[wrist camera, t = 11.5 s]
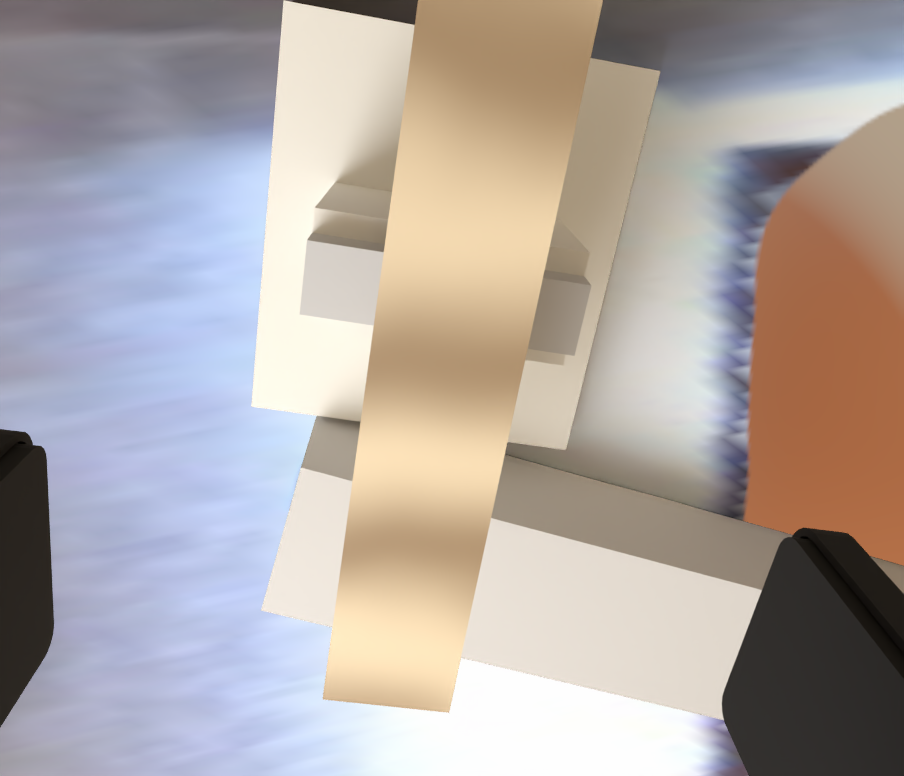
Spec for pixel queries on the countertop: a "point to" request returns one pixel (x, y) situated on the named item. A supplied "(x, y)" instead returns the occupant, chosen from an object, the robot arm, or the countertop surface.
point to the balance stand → (367, 210)
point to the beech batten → (452, 331)
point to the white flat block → (564, 577)
